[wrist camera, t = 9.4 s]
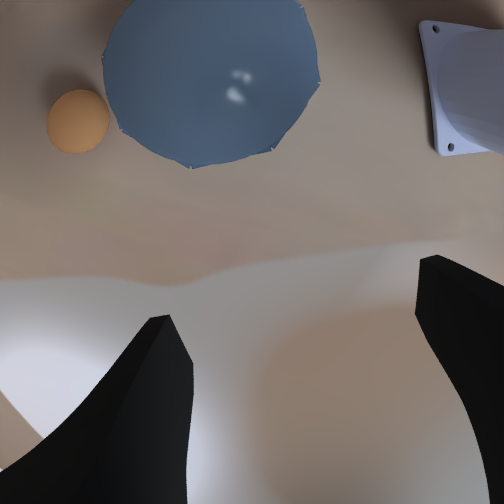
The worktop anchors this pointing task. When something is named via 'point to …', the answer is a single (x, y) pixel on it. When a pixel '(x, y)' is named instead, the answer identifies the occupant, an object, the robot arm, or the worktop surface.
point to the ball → (77, 121)
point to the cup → (210, 76)
